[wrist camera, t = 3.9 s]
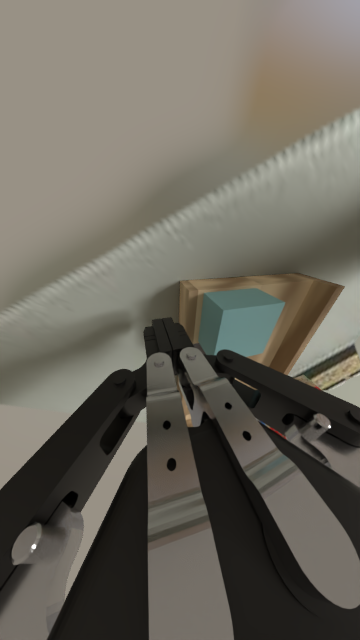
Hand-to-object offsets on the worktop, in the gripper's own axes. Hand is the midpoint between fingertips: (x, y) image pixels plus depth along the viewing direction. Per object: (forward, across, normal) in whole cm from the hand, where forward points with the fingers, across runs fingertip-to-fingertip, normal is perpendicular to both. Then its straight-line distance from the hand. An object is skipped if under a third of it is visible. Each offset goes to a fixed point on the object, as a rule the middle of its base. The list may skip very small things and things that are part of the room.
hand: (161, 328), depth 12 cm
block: (+1, -6, 0) cm, 6 cm away
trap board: (+3, -9, +8) cm, 13 cm away
